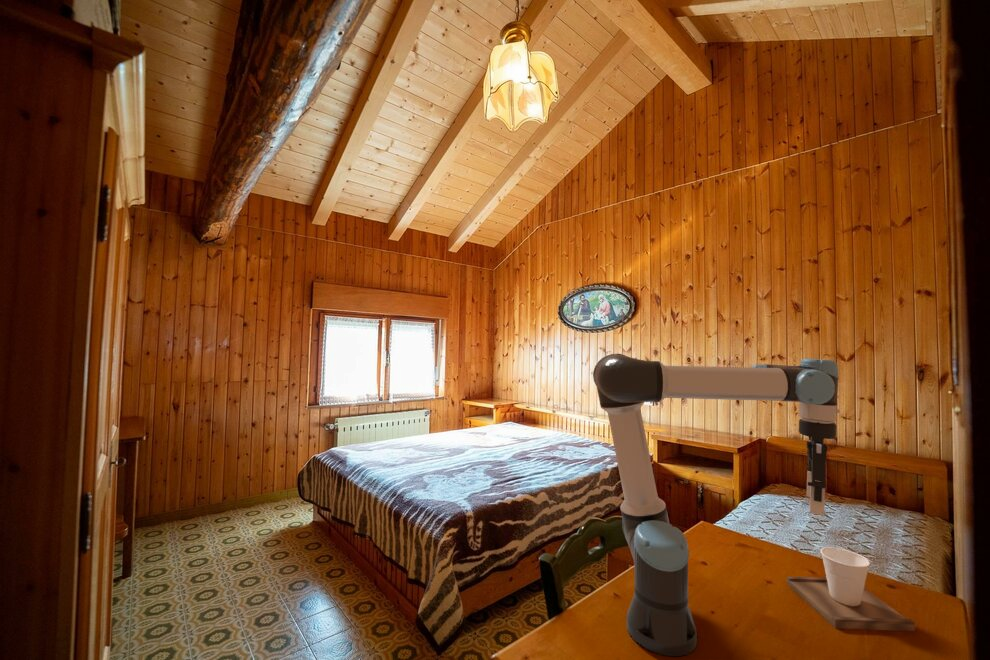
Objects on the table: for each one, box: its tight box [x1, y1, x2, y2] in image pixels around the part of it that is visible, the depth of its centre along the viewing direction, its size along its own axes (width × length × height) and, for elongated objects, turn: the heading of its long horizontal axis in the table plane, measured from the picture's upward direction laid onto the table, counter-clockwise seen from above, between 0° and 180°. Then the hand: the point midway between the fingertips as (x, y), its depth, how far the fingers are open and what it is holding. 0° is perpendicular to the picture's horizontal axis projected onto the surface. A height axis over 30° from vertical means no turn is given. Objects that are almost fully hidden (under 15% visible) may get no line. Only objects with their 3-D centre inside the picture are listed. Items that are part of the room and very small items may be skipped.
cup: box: [820, 546, 871, 606], centre depth 109 cm, size 10×10×11 cm
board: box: [786, 576, 916, 632], centre depth 109 cm, size 18×18×2 cm
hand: (814, 505), depth 107 cm, fingers open, 13 cm apart
